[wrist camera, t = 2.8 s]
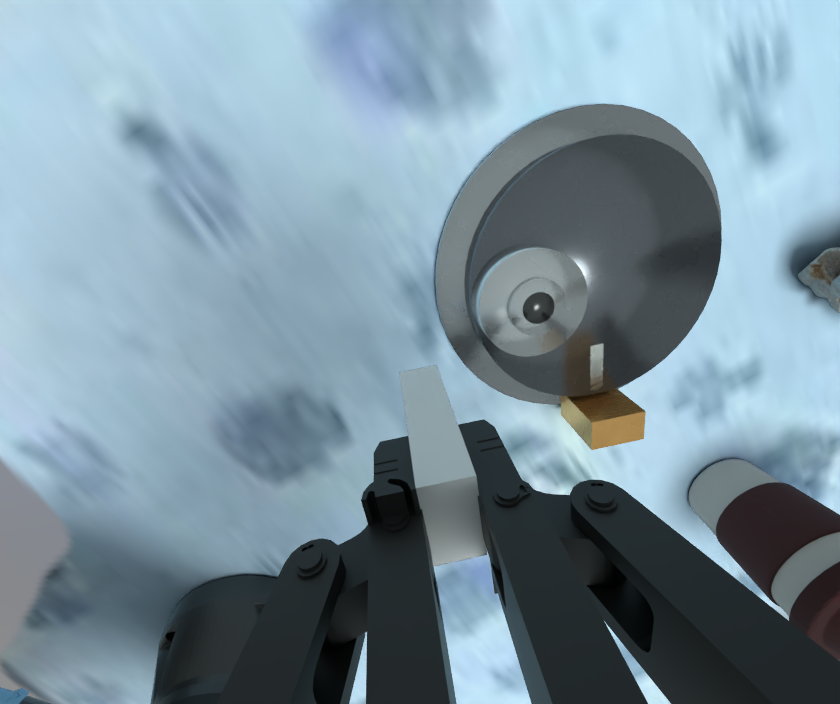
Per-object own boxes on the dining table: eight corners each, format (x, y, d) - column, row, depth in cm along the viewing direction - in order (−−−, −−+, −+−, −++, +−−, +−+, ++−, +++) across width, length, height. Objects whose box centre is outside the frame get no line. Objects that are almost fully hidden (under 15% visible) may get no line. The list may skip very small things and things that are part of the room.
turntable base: (455, 423, 33) (456, 427, 33) (411, 137, 25) (412, 135, 24) (697, 372, 34) (703, 375, 34) (734, 79, 26) (742, 77, 25)
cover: (477, 352, 28) (489, 370, 25) (465, 254, 25) (477, 262, 22) (570, 333, 28) (593, 349, 25) (569, 235, 25) (594, 240, 23)
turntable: (481, 431, 33) (499, 469, 28) (448, 164, 25) (465, 157, 20) (683, 389, 34) (732, 419, 29) (713, 116, 26) (788, 99, 21)
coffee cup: (673, 461, 38) (846, 614, 24) (769, 433, 38) (997, 569, 24) (673, 533, 42) (822, 699, 28) (761, 507, 42) (953, 660, 28)
